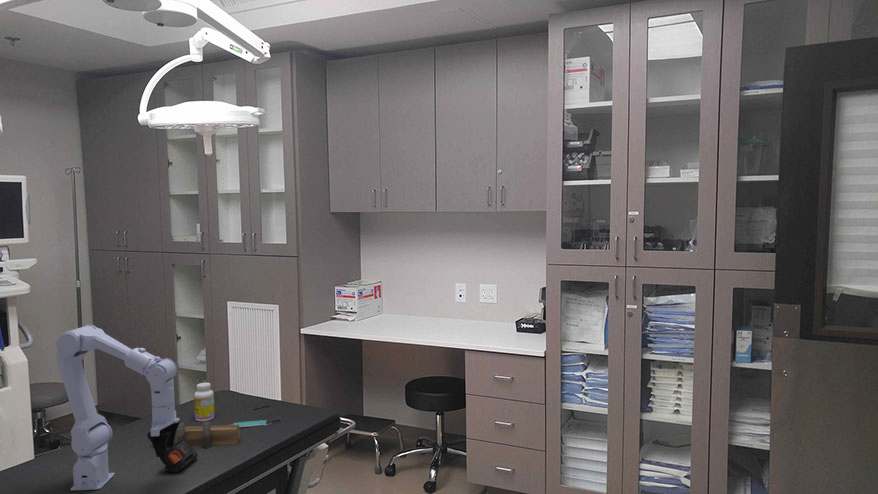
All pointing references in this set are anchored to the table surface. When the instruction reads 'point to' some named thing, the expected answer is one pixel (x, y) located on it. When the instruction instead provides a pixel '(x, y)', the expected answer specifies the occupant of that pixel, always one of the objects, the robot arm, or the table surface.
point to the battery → (179, 455)
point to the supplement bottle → (204, 402)
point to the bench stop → (208, 434)
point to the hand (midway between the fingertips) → (165, 451)
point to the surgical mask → (253, 422)
